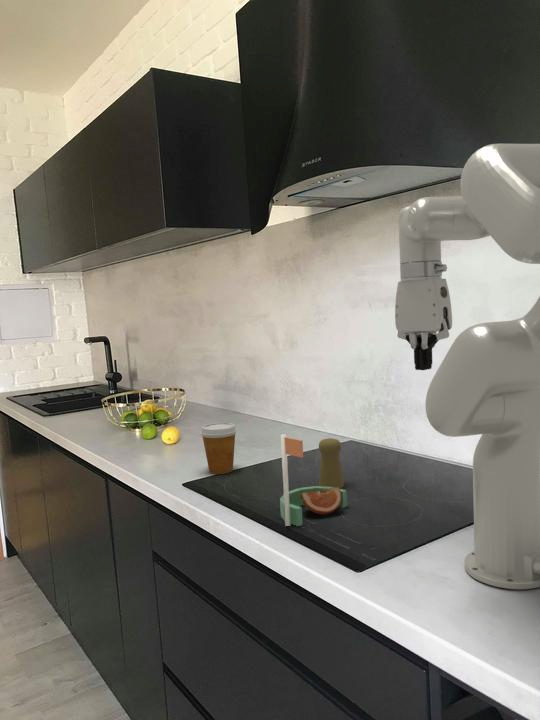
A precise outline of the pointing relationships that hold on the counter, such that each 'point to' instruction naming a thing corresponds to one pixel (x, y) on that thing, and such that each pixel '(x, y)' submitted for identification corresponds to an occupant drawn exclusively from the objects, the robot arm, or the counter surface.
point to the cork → (330, 464)
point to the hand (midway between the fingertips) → (423, 369)
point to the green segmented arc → (292, 499)
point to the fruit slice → (322, 500)
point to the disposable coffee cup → (219, 446)
